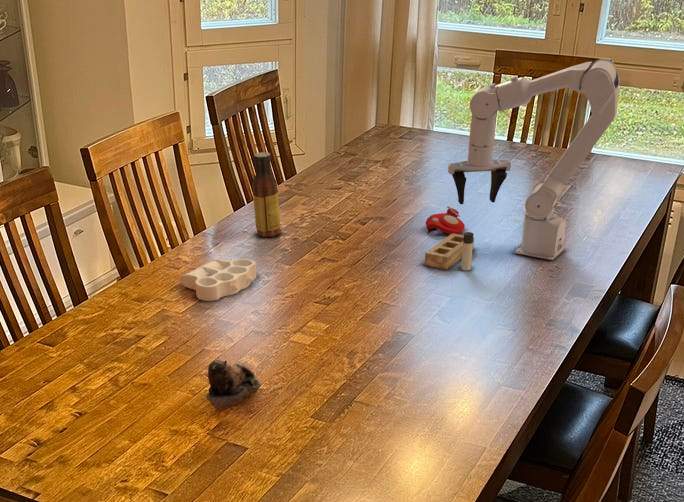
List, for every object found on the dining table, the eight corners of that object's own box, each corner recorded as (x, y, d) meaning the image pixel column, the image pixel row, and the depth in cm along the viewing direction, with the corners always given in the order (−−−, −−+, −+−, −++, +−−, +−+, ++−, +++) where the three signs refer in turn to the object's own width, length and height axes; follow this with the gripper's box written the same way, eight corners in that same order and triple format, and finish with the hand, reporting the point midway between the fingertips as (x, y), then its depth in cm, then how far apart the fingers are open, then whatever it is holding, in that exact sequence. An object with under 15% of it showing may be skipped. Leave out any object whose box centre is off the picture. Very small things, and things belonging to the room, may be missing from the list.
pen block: (473, 249, 241) (474, 237, 239) (446, 269, 231) (447, 257, 229) (451, 245, 244) (452, 233, 242) (424, 265, 234) (425, 252, 232)
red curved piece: (470, 230, 248) (433, 224, 246) (464, 245, 251) (427, 239, 249) (461, 204, 256) (424, 197, 254) (455, 218, 259) (419, 212, 257)
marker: (472, 268, 232) (475, 232, 227) (468, 271, 230) (471, 236, 225) (463, 266, 233) (466, 231, 228) (459, 269, 231) (462, 234, 226)
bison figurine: (236, 383, 188) (233, 334, 183) (268, 391, 186) (265, 342, 180) (200, 411, 180) (195, 361, 174) (233, 420, 177) (229, 370, 171)
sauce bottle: (282, 229, 255) (279, 150, 243) (279, 238, 250) (276, 158, 238) (256, 229, 255) (252, 150, 244) (253, 238, 250) (249, 157, 239)
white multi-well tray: (221, 265, 236) (270, 278, 229) (171, 291, 224) (222, 306, 217) (220, 251, 234) (270, 264, 227) (169, 277, 222) (221, 291, 215)
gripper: (506, 137, 234) (501, 194, 242) (446, 140, 232) (442, 198, 240) (516, 145, 228) (509, 204, 236) (454, 149, 227) (450, 208, 235)
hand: (476, 202), depth 238 cm, fingers open, 7 cm apart
